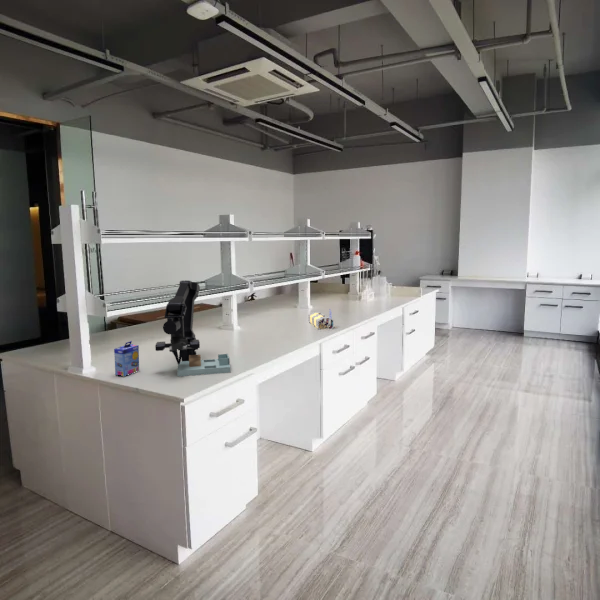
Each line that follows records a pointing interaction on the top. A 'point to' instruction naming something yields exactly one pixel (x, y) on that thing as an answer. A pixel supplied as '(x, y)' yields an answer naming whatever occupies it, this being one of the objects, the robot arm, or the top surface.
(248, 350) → the top surface
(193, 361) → the walnut block
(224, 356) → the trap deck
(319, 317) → the diorama
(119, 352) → the ink cartridge box
